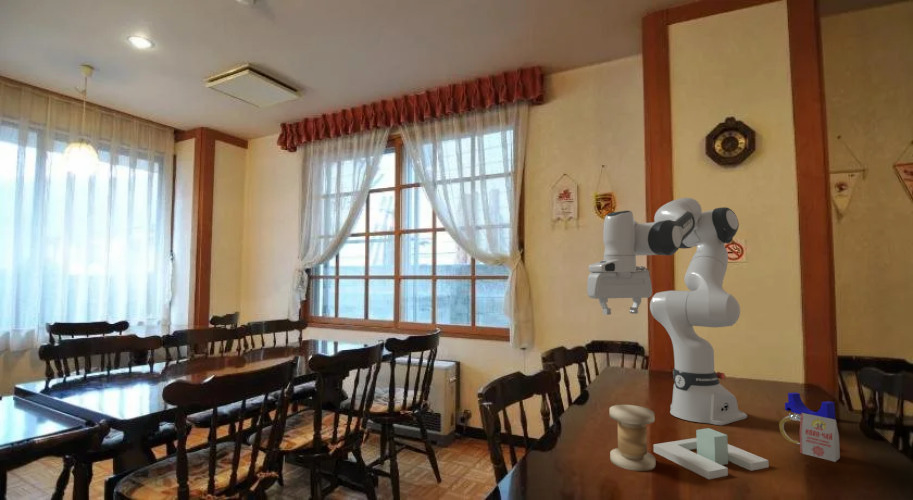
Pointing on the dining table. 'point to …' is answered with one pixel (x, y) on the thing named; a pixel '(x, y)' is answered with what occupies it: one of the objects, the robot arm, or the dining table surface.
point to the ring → (787, 418)
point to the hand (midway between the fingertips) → (620, 314)
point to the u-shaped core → (702, 465)
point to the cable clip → (798, 407)
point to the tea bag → (819, 437)
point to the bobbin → (632, 437)
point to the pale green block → (712, 445)
